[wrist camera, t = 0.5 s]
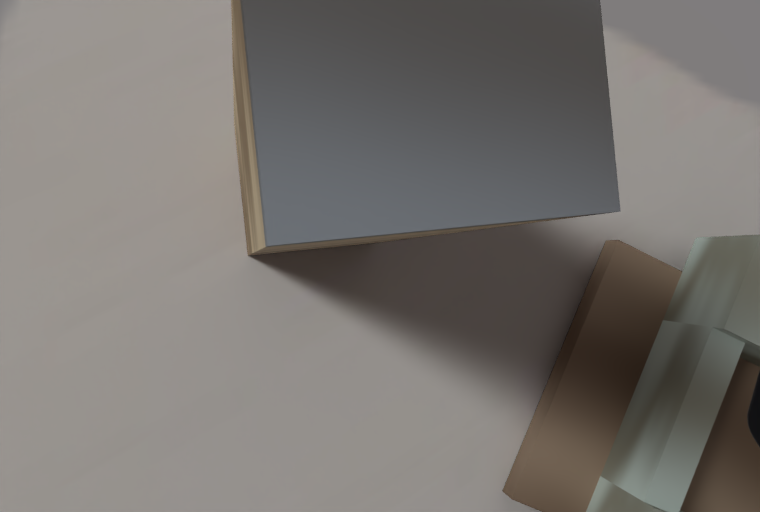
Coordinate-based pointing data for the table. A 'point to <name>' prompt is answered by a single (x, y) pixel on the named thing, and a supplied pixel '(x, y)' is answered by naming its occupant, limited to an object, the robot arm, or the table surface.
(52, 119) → the table surface
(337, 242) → the rail post
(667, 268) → the socket
